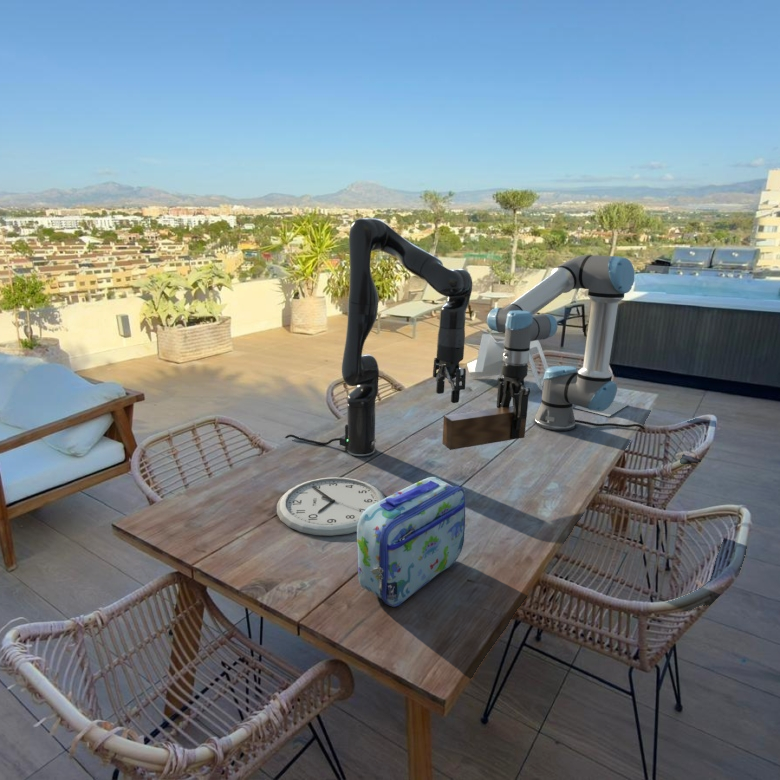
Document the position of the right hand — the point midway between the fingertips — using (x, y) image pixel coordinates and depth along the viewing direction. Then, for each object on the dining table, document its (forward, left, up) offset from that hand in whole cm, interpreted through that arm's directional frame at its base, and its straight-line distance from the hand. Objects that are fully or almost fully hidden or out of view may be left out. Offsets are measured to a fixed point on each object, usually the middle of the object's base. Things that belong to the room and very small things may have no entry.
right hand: (509, 434), depth 164 cm
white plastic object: (-8, -94, -11) cm, 95 cm away
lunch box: (+26, +60, -11) cm, 66 cm away
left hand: (+20, +12, +15) cm, 28 cm away
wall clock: (+50, +32, -11) cm, 60 cm away
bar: (+8, +5, -1) cm, 9 cm away
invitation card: (-47, -67, -11) cm, 83 cm away
